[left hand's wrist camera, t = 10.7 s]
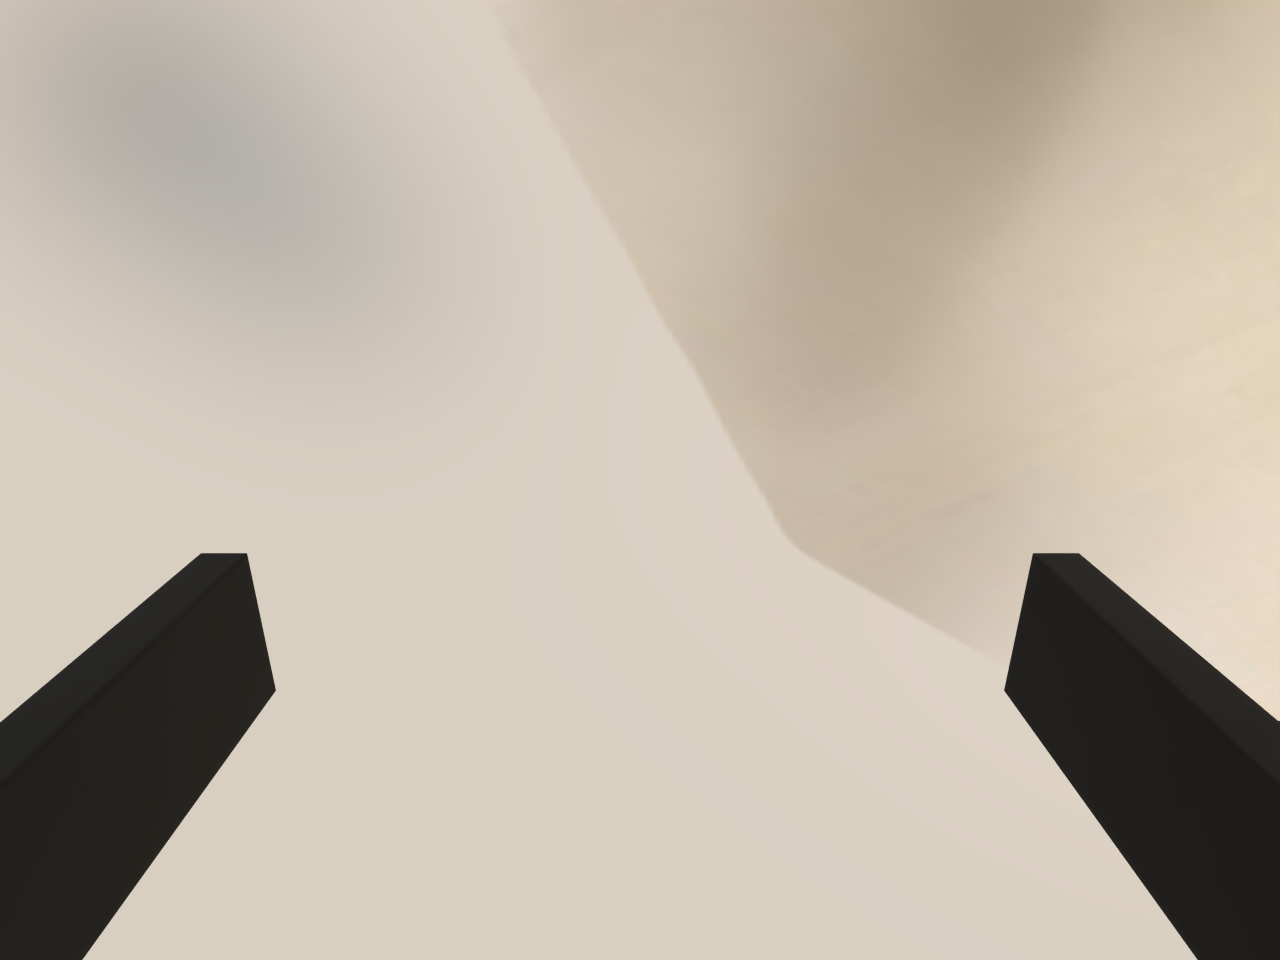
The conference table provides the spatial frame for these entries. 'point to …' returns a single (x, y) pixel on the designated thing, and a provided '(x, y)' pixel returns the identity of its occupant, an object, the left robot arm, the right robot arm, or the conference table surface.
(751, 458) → the conference table surface
